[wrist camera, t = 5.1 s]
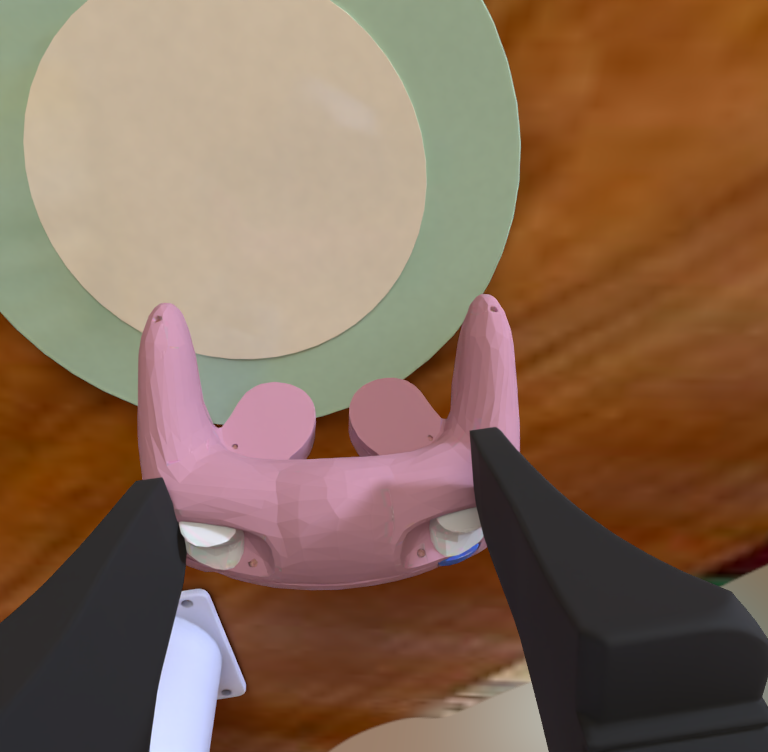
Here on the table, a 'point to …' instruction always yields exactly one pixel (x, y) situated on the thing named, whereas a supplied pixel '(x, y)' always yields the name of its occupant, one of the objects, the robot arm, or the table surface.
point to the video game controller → (323, 465)
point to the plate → (252, 184)
